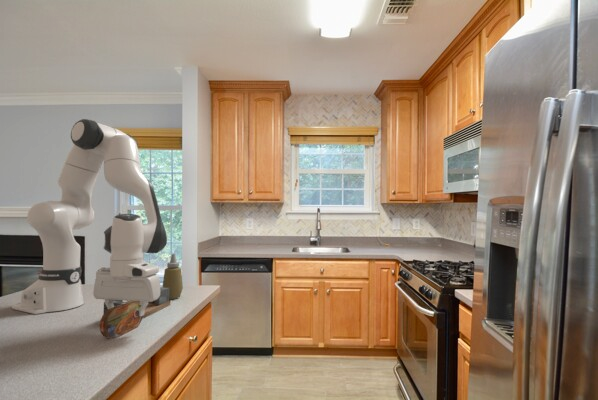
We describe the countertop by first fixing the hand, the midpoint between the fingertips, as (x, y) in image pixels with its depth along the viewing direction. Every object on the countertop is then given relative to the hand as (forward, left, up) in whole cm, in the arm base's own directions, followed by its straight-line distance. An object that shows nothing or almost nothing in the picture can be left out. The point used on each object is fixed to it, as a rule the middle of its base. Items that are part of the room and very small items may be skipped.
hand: (126, 314), depth 94 cm
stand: (-8, +15, -5) cm, 18 cm away
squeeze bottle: (-8, +35, -5) cm, 37 cm away
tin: (-1, -1, -5) cm, 5 cm away
